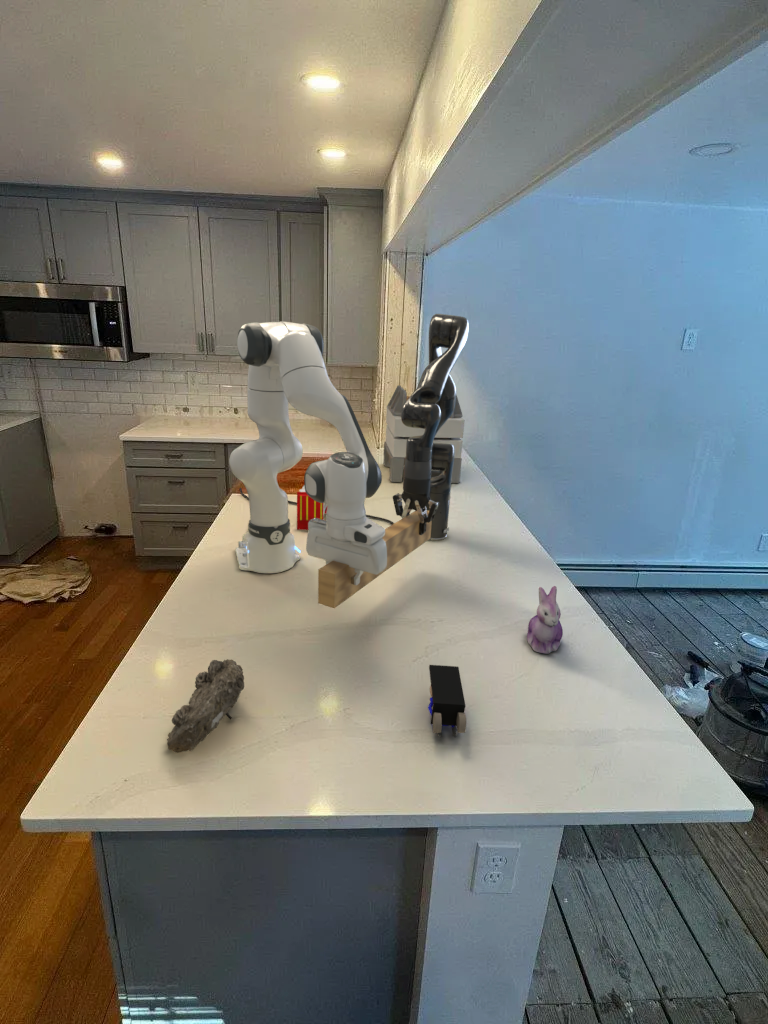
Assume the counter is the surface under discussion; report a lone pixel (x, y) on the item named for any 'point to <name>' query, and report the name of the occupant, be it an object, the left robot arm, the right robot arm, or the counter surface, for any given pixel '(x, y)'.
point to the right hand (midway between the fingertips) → (413, 532)
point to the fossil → (206, 705)
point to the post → (338, 575)
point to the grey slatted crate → (400, 434)
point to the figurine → (545, 624)
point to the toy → (308, 509)
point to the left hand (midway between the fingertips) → (344, 580)
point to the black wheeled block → (446, 699)
